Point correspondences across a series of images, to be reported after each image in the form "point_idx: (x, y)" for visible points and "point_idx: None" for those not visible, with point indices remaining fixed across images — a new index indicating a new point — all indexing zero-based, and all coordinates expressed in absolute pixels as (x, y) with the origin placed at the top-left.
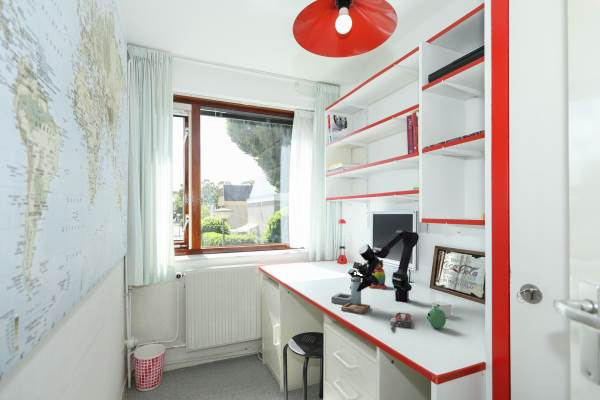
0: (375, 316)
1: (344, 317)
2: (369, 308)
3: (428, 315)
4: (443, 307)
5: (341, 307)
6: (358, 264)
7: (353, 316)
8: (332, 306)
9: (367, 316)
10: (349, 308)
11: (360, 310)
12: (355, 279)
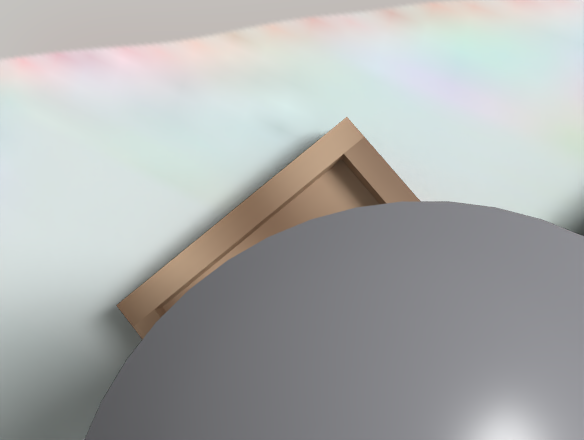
0: (23, 428)
1: (109, 66)
2: None
3: None
4: None
5: (346, 120)
6: None
7: (107, 175)
8: (525, 89)
9: (54, 333)
10: (256, 192)
11: (133, 292)
12: (133, 365)
